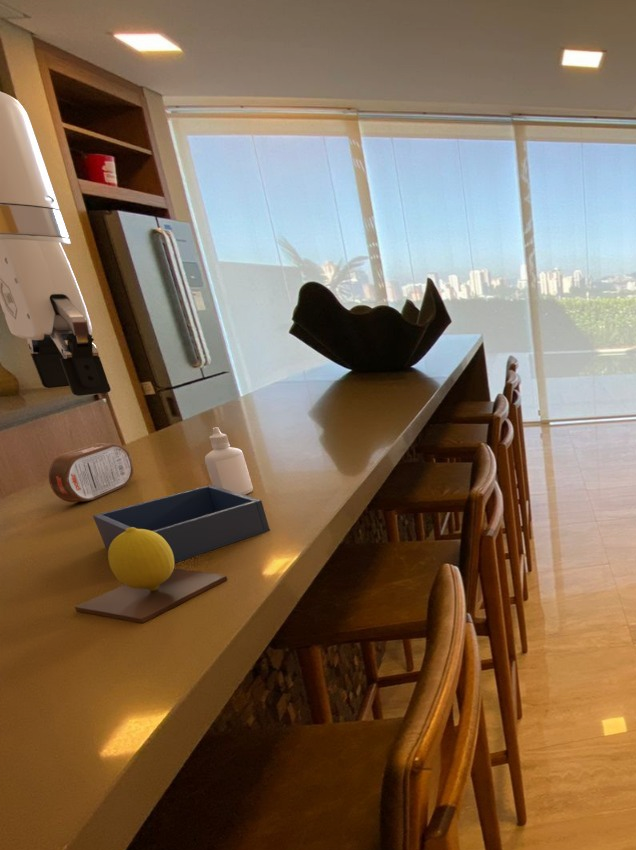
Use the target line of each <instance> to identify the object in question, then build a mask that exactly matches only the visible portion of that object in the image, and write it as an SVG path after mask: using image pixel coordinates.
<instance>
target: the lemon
mask: <svg viewBox="0 0 636 850" xmlns="http://www.w3.org/2000/svg"><path fill="white" fill-rule="evenodd" d="M107 559H108V565H109V568H110V569H111V572H112V573H113V575H114V577H115V578H116V579H117V580H118V581H119V582H120V583H122V585H127V586H129V587H132V588H138V589H147V590H150V591H154V590H156V589H157V588H158V587H159V585H160V584H161V583H163V582H165V581H166V580H167V579H168V578H169V577H170V575H171V574H172V572H173V569H174V568H175V563H174V556H173V552H172V550H171V548H170V546H169V545H168V543H167V542H166V540H165V539H164V538H163V537H162V536H160V535H159V534H157V533H155V532H153V531H150V530H146V529H136V528H134V527H130V528H127V529H126V531H125V532H123V533H121V534H120V535H118V536H117V537H116V538H115V539H114V540H113V541H112V543H111V544H110V547H109V549H108V551H107Z"/></svg>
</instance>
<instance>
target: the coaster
mask: <svg viewBox="0 0 636 850" xmlns="http://www.w3.org/2000/svg"><path fill="white" fill-rule="evenodd" d="M227 580H228V577H227V575H224V574H217V573H212V572H211V573H210V572H204V571H196V570H190V569H183V568H176V567H174V569H173V572H172V574H171V575H170V577H169V578H168V579H167V580H166V581H165V582H163V583H161V584H160V585H159V587H158V588H157V589H156V590H154V591H150V590H147V589H138V588H132V587H129V586H127V585H125V584H122V585H121V586H118V587H116V588H114V589H112V590H110V591H107V592H105V593H102V594H100V595H98V596H96V597H94V598H91V599H89V600H87V601H84V602H82V603H79V604H78V605H76V606H74V609H75V611H76V612H80V613H84V614H90V615H96V616H100V617H106V618H111V619H112V618H113V619H118V620H123V621H129V622H135V623H139V624H144V623H146V622H148V621H150V620H152V619H153V618H156V617H158V616H160V615H161V614H164V613H165V612H166V613H167V611H170V610H171V609H174V608H175V607H177V606H179V605H182V604H184V603H185V602H187V601H189V600H191V599H192V598H195V597H197V596H198V595H201V594H203V593H205V592H206V591H208V590H210V589H212V588H214V587H216V586H218V585H220V584H222V583H224V582H226V581H227Z"/></svg>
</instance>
